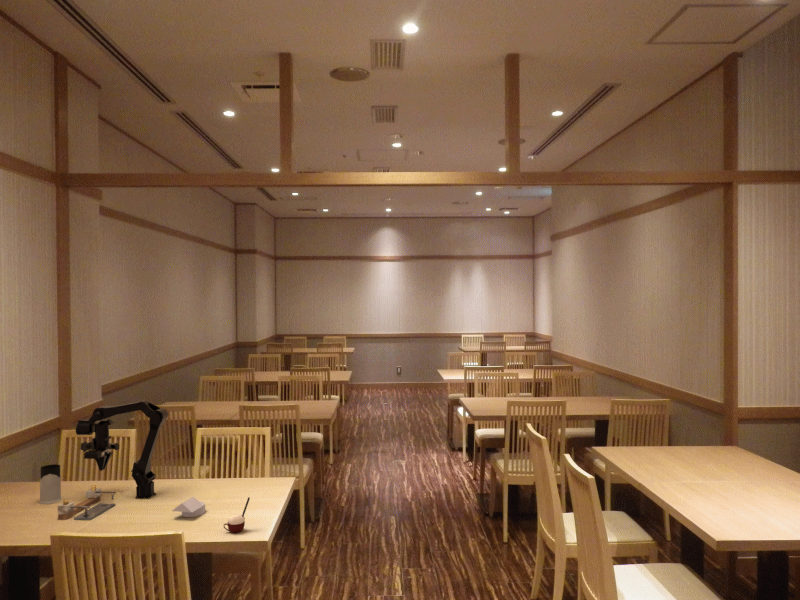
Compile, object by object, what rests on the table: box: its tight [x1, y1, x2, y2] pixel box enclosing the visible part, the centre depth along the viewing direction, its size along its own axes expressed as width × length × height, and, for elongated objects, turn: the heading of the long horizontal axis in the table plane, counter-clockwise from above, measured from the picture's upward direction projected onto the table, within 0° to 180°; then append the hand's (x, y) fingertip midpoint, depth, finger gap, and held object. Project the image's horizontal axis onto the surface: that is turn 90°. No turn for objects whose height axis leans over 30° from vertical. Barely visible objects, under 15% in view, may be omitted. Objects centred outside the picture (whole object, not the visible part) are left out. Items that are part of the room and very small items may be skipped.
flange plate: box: [73, 502, 116, 521], centre depth 251 cm, size 7×18×1 cm, turn 176°
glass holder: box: [38, 464, 63, 505], centre depth 268 cm, size 9×14×15 cm, turn 25°
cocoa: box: [223, 496, 250, 534], centre depth 229 cm, size 10×6×12 cm, turn 87°
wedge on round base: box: [171, 496, 206, 518], centre depth 247 cm, size 9×7×13 cm
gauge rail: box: [57, 495, 101, 521], centre depth 254 cm, size 12×24×7 cm, turn 176°
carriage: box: [85, 484, 117, 500], centre depth 264 cm, size 12×4×6 cm, turn 86°
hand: (102, 470), depth 271 cm, fingers closed
